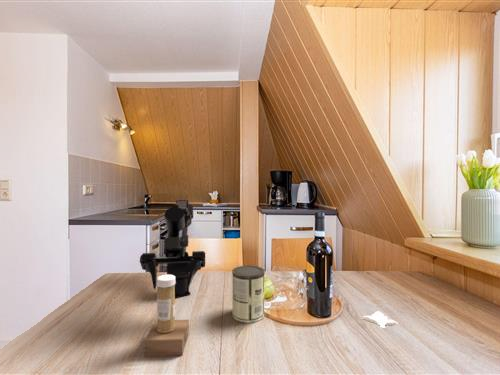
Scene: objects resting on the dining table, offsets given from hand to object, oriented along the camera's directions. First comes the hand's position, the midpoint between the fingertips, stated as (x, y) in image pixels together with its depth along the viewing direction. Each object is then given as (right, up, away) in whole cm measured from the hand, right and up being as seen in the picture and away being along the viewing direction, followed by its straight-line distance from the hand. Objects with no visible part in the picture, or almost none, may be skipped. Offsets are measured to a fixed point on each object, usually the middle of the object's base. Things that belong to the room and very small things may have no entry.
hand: (171, 287), depth 73 cm
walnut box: (+1, -12, -7) cm, 14 cm away
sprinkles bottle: (+1, -8, -7) cm, 11 cm away
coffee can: (+21, -12, +9) cm, 26 cm away
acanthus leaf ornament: (+62, -13, +6) cm, 63 cm away
